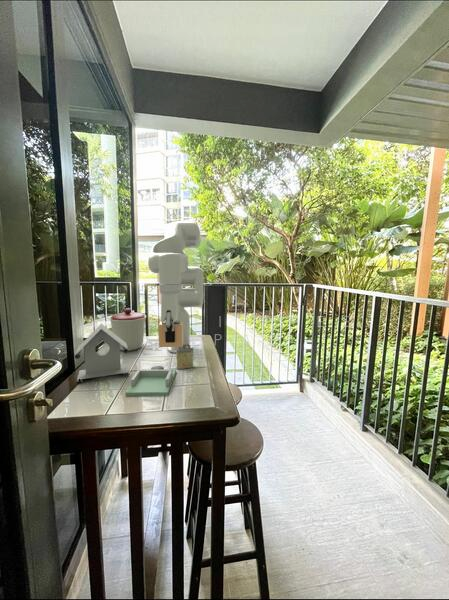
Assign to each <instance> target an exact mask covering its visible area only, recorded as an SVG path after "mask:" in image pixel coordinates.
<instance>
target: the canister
mask: <svg viewBox="0 0 449 600" xmlns="http://www.w3.org/2000/svg"><path fill="white" fill-rule="evenodd" d="M123 311H124V312H120V313H116V314H112V316H110V317H108V320H109V321H110V325H111V331H112V332H113V333H114V334H115V335H117V336H118V337H119V338H120V339H122V340H123V341H124V342H126V344H127V347H128V352H130V351H135V350H137V349H140V348H141V347H142V345H143V343H144V338H145V337H144V336H145V326H146V318H147V315H145V314H143V313H141V312H135V311H132V309H131V308H129V307H127V308H125V309H124V310H123ZM120 351H122V352H123V347H122V345H121V344H120Z"/></svg>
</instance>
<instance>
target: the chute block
mask: <svg viewBox="0 0 449 600" xmlns="http://www.w3.org/2000/svg"><path fill="white" fill-rule="evenodd" d="M170 322H173V321H170ZM171 325H172V324H171ZM165 328H166V320H165V321H164V323H162V322H161V321H160V322H159V323H158V348H168V347H182V346H183V343H184V337H183V321H176V322H175V323H174V331H175V342H174V343H166V342H165Z"/></svg>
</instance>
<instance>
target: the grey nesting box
mask: <svg viewBox="0 0 449 600" xmlns="http://www.w3.org/2000/svg"><path fill="white" fill-rule="evenodd" d="M101 341H103V342H104V344H106V345H108V348H109V350H108V352H107V353H106V354H104V355H102V354H98V353H97V352H96V348H97V345H99V344H101ZM120 344H121V345H122V347H123V351H122V352H123V353H124V354H128V353H129V351H128V347H127V344H126V342H124V341H123V340H122V339H120V338H119V337H118V336H117V335H115V334H114V333H113V332H112V330H110V329H109V328H108V327H106V326H105V325H104V324H103V323H100V324H99V325H98V326H97V327H96V328H95V330H94V331H93V332H92V333H91V334H90V335H89V336H88V337H86V339H84V341H83V342H82V343H81V344H79V346H78V347H77V348H76V350H75V354H74V359H75V360H80V358H81V356H82V351H83V350H84V354H83V355H84V366H85V367H84V368H85V369H80V370H78V373H79V374H77V379H76V381H77V380H79V379H80V381H79V382H81V380H82V381H83V380H85V379H91V378H92V379H93V378H99V377H106V376H113V375H119V374H120V375H121V374H123V376H124V377H125V378H127V377H129V376H130V372H129V368H128V365H127V364H125V363H124V364H122V363H121V350H120Z"/></svg>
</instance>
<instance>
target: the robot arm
mask: <svg viewBox="0 0 449 600" xmlns="http://www.w3.org/2000/svg"><path fill="white" fill-rule="evenodd" d="M166 229H167V230H166V231H165V233H164V238H163V239H161V240H159V241H157V242H156V243H154V244H153V246H152V247H151V248H150V252H149V255H148V260H147V263H148V269H149V270H150V272H151V273H153V274H158V284H159V285H158V286H159V289H158V290H159V294H160V295H161V299H160V300H161V301H160V302H161V303H160V322H162V323H164V321H166V328H165V342H166V343H174V342H175V331H174V323H175V322H176V321H183V337H184V343H183V344H189V345H190V348H193V347H194V346H193V345H192V344H191V343H190V341H191V340H190V339H191V338H190V337H191V336H190V335H191V334H190V329H191V328H190V326H191V325H190V324H191V323H190V314H189V312H188V311H187V310H186V308H200V307H202V306H203V304H204V296H205V295H204V272H203V269H202V268H201V267H199V266H190V265H189V256H188V255H187V253H186V252H185V251H184V250H185V248H186V249H189V248H190V249H191V248H192V249H196V248H199V247H200V246H201V242H202V231H201V228H200V226H199V224H198V223H197V222H193V221H174V222H171V223H170V224H169V225H168V226H167V228H166ZM182 286H186V288H185V287H182ZM187 286H190V287H191V286H193V287H194V288H189V287H188V288H187ZM170 321H173V322H170ZM171 324H172V325H171ZM181 348H184V347H181ZM185 348H188V346H186V347H185ZM177 349H178V347H167V351H168V352H169V353H173V354H177Z"/></svg>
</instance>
